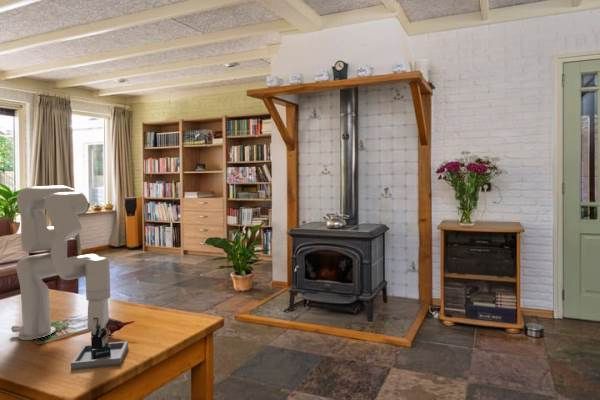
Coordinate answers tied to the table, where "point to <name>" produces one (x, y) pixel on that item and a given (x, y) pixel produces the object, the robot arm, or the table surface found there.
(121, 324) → the decorative bird figurine
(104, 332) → the watch
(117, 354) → the tray
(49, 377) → the table surface
